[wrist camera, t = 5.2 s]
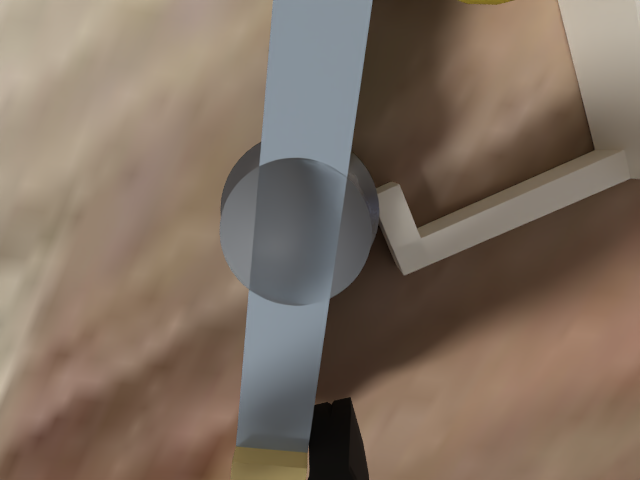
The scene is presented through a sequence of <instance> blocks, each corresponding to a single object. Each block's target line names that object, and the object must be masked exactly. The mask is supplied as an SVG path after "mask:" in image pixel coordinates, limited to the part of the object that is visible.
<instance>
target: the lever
mask: <svg viewBox="0 0 640 480" xmlns="http://www.w3.org/2000/svg"><path fill="white" fill-rule="evenodd" d="M372 1H373V0H273V8H272V20H271V32H270V45H269V57H268V69H267V81H266V93H265V105H264V117H263V129H262V141H261V153H260V165H259V167H257V168H256V169H254V170H252V171H251V172H249V173H248V174H247V175H246V176H245V177H243V178H242V179H241V180H240V181H239V183H238V184H237V185H236V186H235V187H234V189H233V190H232V192H231V193H230V195H229V197H228V199H227V201H226V203H225V205H224V208H223V211H222V215H221V221H220V241H221V246H222V250H223V254H224V256H225V259H226V261H227V263H228V265H229V267H230V269H231V270H232V272H233V273H234V275H235V276H236V277H237V278H238V280H239V281H240V282H241V283H242V284H243V285H244V286H246V287H247V288H248V289H249V297H248V309H247V321H246V333H245V345H244V357H243V369H242V381H241V393H240V405H239V417H238V429H237V441H236V449H235V452H234V456H233V460H232V468H231V480H306V473H307V452H308V446H309V439H310V432H311V425H312V418H313V411H314V404H315V397H316V390H317V383H318V376H319V369H320V362H321V355H322V348H323V341H324V334H325V328H326V321H327V314H328V307H329V300H330V298H332V297H333V296H335V295H337V294H339V293H340V292H341V291H343V290H344V289H345V288H347V287H348V286H349V285H350V284H351V283H352V282H353V281H354V280H355V278H356V277H357V276H358V275H359V273H360V271H361V270H362V268H363V266H364V265H365V262H366V260H367V258H368V255H369V251H370V247H371V241H372V225H371V218H370V214H369V210H368V208H367V205H366V203H365V200H364V199H363V197H362V195H361V193H360V192H359V190H358V189H357V188H356V187H355V185H354V184H353V183H352V182H351V181H350V180H349V179H348V178H347V175H348V168H349V161H350V154H351V147H352V140H353V133H354V126H355V119H356V112H357V105H358V98H359V92H360V85H361V78H362V71H363V64H364V57H365V50H366V43H367V36H368V29H369V22H370V15H371V8H372Z"/></svg>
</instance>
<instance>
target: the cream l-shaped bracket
mask: <svg viewBox="0 0 640 480" xmlns="http://www.w3.org/2000/svg"><path fill="white" fill-rule="evenodd" d="M558 3H559V7H560V11H561V15H562V19H563V23H564V27H565V31H566V35H567V39H568V43H569V47H570V51H571V55H572V59H573V63H574V67H575V71H576V75H577V79H578V83H579V87H580V92H581V96H582V100H583V104H584V108H585V112H586V116H587V120H588V124H589V128H590V132H591V136H592V140H593V144H594V148H595V150H594V151H592V152H589V153H587V154H585V155H583V156H580V157H578V158H576V159H573V160H571V161H569V162H567V163H564V164H562V165H560V166H557V167H555V168H553V169H551V170H548V171H546V172H544V173H542V174H539V175H537V176H535V177H532V178H530V179H528V180H526V181H523V182H521V183H519V184H517V185H514V186H512V187H510V188H507V189H505V190H503V191H501V192H498V193H496V194H494V195H491V196H489V197H487V198H485V199H482V200H480V201H478V202H476V203H473V204H471V205H469V206H466V207H464V208H462V209H460V210H457V211H455V212H453V213H451V214H448V215H446V216H444V217H441V218H439V219H437V220H435V221H432V222H430V223H428V224H425V225H423V226H421V227H419V228H417V227H416V225H415V222H414V220H413V217H412V215H411V212H410V210H409V207H408V205H407V202H406V199H405V197H404V194H403V192H402V189H401V187H400V184H397V183H395V182H392V181H391V182H389V183H387V184H384V185H382V186H380V187H378V188H376V191H377V195H378V200H379V226H380V228H381V230H382V233H383V235H384V238H385V240H386V242H387V245H388V247H389V249H390V252H391V254H392V257H393V259H394V261H395V264H396V266H397V267H398V268H399V270H400V271H401V272H402V274H403V275H407V274H409V273H411V272H414V271H416V270H418V269H421V268H423V267H425V266H428V265H430V264H432V263H435V262H437V261H439V260H442V259H444V258H446V257H449V256H451V255H453V254H456V253H458V252H460V251H463V250H465V249H467V248H470V247H472V246H474V245H477V244H479V243H481V242H484V241H486V240H488V239H491V238H493V237H495V236H498V235H500V234H502V233H505V232H507V231H509V230H512V229H514V228H516V227H519V226H521V225H523V224H526V223H528V222H530V221H533V220H535V219H537V218H540V217H542V216H544V215H547V214H549V213H551V212H554V211H556V210H558V209H561V208H563V207H565V206H568V205H570V204H572V203H575V202H577V201H579V200H582V199H584V198H586V197H589V196H591V195H593V194H596V193H598V192H600V191H603V190H605V189H607V188H610V187H612V186H614V185H617V184H619V183H621V182H624V181H626V180H628V179H631V178H632V179H640V0H558Z"/></svg>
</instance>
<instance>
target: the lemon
mask: <svg viewBox="0 0 640 480" xmlns="http://www.w3.org/2000/svg"><path fill="white" fill-rule="evenodd" d="M458 1H461V2H464V3H467V4H493V5H497V4H501V3H505V2H509V1H513V0H458Z"/></svg>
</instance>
